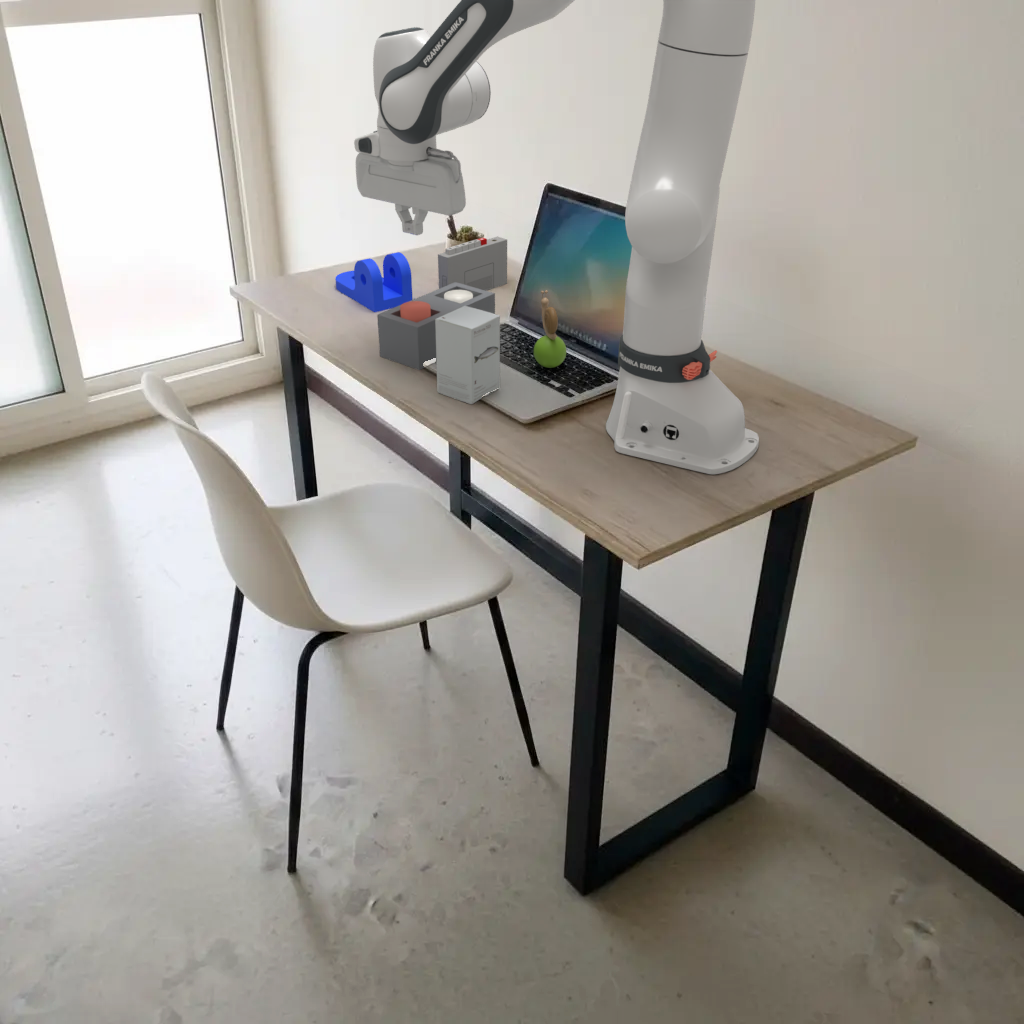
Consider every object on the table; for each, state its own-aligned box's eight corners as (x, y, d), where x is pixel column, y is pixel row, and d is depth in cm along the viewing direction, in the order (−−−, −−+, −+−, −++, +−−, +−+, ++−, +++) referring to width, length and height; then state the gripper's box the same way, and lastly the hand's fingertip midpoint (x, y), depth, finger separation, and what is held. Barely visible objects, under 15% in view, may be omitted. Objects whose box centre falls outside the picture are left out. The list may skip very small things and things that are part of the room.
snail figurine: (557, 355, 179) (559, 288, 173) (570, 370, 174) (573, 301, 168) (527, 359, 178) (528, 291, 171) (539, 374, 173) (541, 305, 166)
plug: (479, 329, 187) (478, 294, 183) (460, 337, 183) (460, 302, 180) (457, 322, 189) (456, 287, 186) (439, 330, 186) (438, 295, 182)
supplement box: (472, 405, 163) (471, 329, 156) (435, 393, 167) (433, 317, 160) (501, 389, 168) (501, 314, 161) (465, 377, 172) (464, 303, 165)
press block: (494, 333, 187) (494, 293, 183) (419, 370, 174) (417, 327, 170) (456, 321, 192) (455, 282, 188) (379, 356, 179) (377, 314, 175)
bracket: (412, 303, 200) (410, 257, 195) (374, 313, 196) (371, 266, 191) (365, 277, 212) (362, 233, 207) (328, 285, 208) (324, 241, 203)
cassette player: (497, 280, 211) (497, 231, 206) (507, 284, 209) (507, 234, 204) (439, 300, 201) (437, 249, 196) (448, 303, 200) (447, 252, 195)
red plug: (437, 342, 179) (436, 305, 175) (418, 351, 175) (416, 314, 172) (416, 334, 181) (414, 298, 178) (396, 343, 178) (393, 307, 174)
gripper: (472, 148, 157) (475, 239, 165) (374, 131, 168) (381, 217, 176) (445, 157, 153) (449, 250, 161) (346, 138, 164) (354, 226, 171)
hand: (412, 233), depth 168 cm, fingers closed
